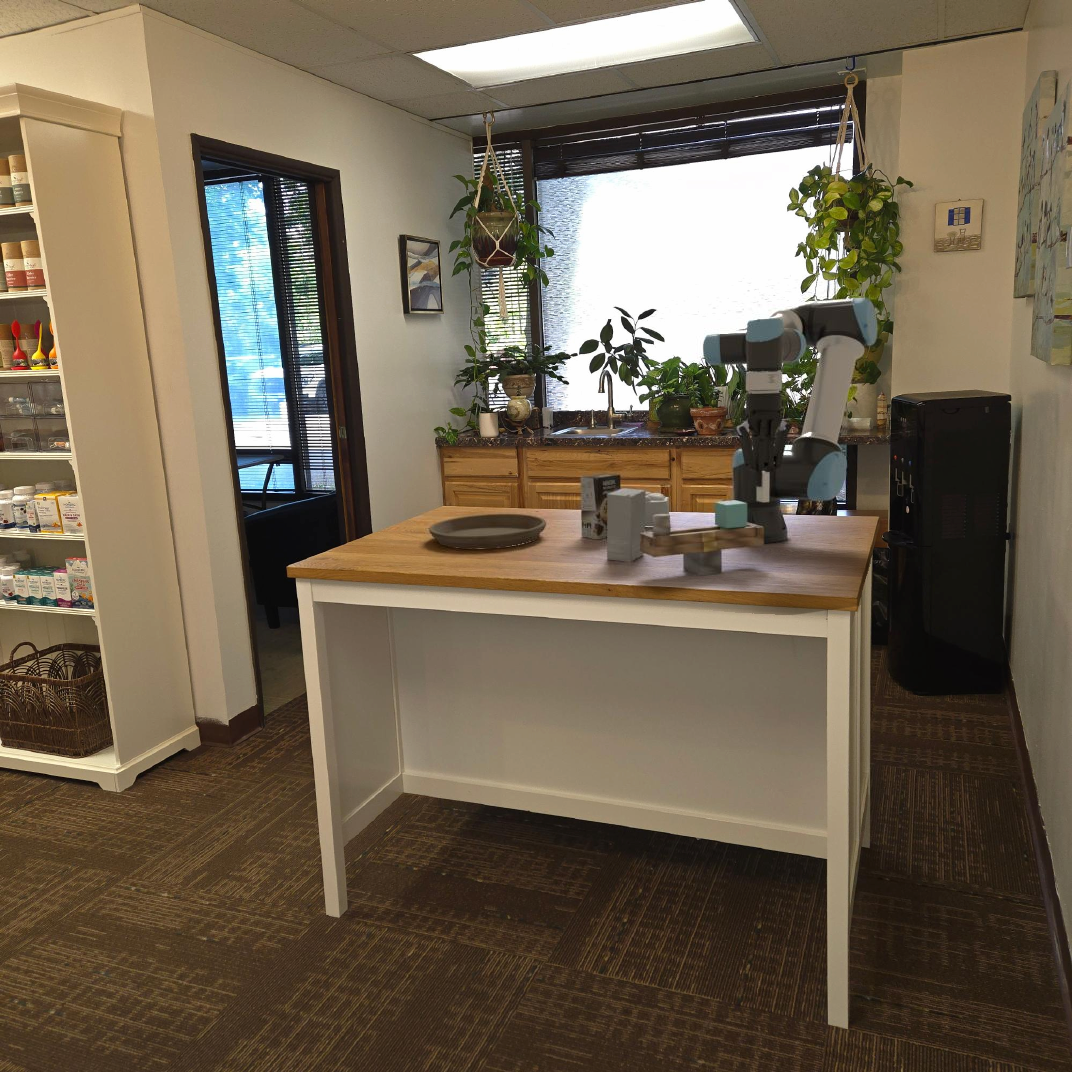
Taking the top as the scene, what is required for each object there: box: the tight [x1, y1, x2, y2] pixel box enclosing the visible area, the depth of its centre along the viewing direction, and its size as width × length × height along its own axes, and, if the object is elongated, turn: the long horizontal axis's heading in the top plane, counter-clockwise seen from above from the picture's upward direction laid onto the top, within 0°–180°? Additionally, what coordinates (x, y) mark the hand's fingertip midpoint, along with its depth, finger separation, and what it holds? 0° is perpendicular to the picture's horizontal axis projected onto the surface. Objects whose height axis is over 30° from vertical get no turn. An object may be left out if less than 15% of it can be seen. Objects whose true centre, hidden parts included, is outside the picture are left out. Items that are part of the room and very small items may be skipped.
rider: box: [714, 499, 747, 530], centre depth 203 cm, size 5×5×7 cm
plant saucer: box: [428, 513, 547, 549], centre depth 248 cm, size 31×31×5 cm
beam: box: [640, 514, 765, 577], centre depth 202 cm, size 26×8×13 cm, turn 108°
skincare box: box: [606, 487, 647, 563], centre depth 217 cm, size 8×7×16 cm
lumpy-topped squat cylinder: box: [645, 491, 670, 526], centre depth 260 cm, size 10×13×9 cm
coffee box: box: [580, 473, 622, 540], centre depth 245 cm, size 9×6×16 cm
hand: (762, 501), depth 204 cm, fingers closed
